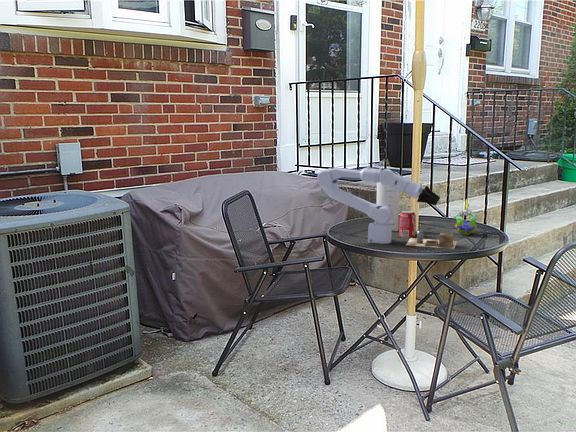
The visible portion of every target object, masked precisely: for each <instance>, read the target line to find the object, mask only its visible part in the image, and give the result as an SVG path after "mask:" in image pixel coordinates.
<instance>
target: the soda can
mask: <svg viewBox="0 0 576 432" xmlns="http://www.w3.org/2000/svg"><path fill="white" fill-rule="evenodd" d="M416 226H417V215H416V212H415V211H414V210H407V209H405V210H403V209H402V210H401V211H400V213H399V225H398V234H399V235H398V236H399V237H401V238H415V237H416V234H417V231H416V229H417V227H416Z"/></svg>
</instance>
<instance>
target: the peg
mask: <svg viewBox="0 0 576 432" xmlns="http://www.w3.org/2000/svg"><path fill="white" fill-rule="evenodd" d="M416 238H417V243H419V244H422V243H423V239H424V230H420V229H419V230H417V231H416Z"/></svg>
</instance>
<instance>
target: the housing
mask: <svg viewBox="0 0 576 432" xmlns="http://www.w3.org/2000/svg"><path fill="white" fill-rule="evenodd" d="M438 240H439V247H448V248H447V249H452V246H453V241H454V233H448V232H447V233H446V232H440V233H439V238H438Z"/></svg>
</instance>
